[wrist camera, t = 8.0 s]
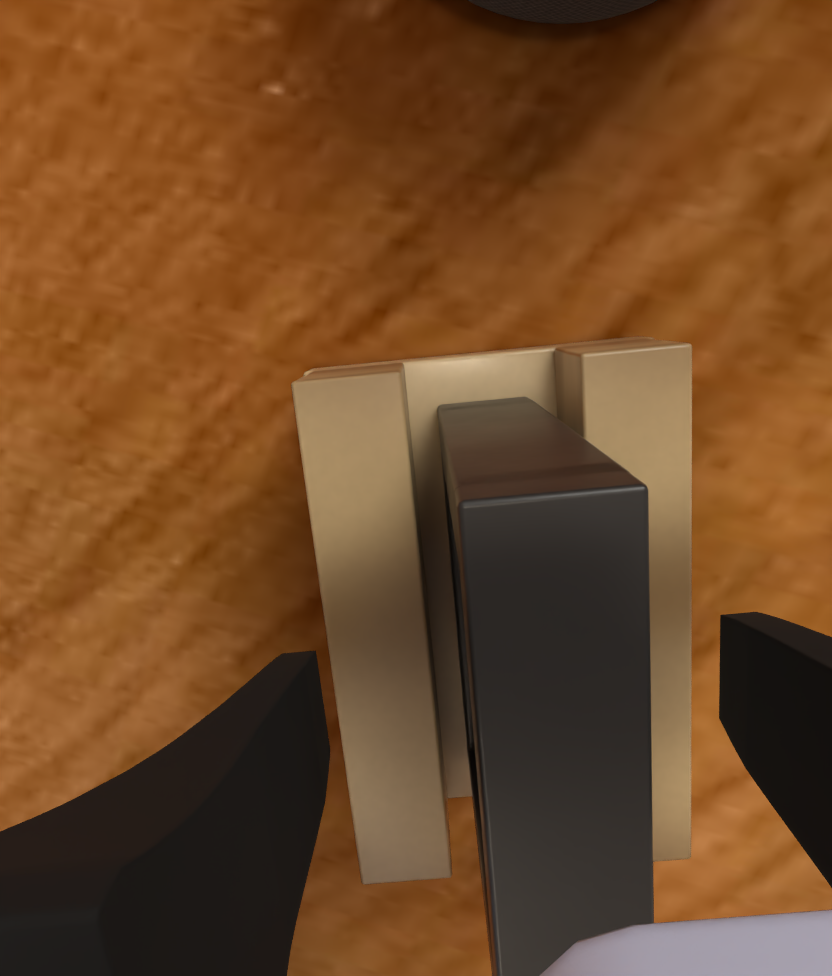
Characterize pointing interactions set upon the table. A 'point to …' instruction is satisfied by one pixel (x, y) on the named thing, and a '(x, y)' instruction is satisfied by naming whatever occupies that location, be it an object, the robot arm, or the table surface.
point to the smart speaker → (561, 9)
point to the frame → (551, 676)
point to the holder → (428, 577)
